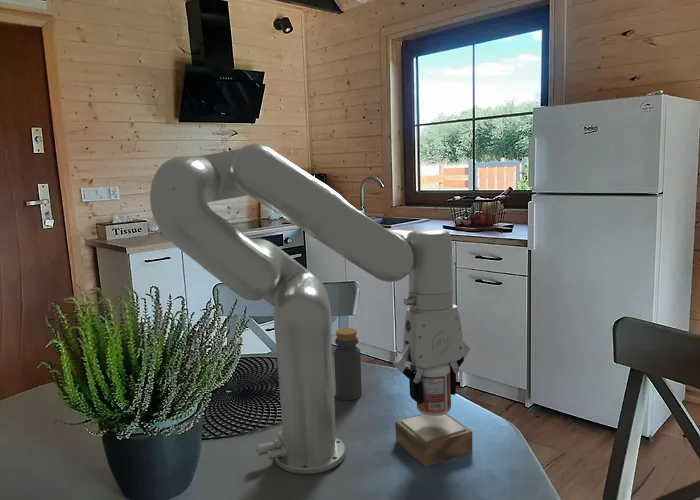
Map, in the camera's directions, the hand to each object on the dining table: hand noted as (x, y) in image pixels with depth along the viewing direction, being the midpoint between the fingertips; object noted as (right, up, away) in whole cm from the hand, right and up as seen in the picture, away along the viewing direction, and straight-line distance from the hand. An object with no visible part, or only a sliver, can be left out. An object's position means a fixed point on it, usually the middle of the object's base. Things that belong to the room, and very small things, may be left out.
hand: (433, 395), depth 100 cm
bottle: (-15, -7, +25) cm, 30 cm away
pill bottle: (0, -3, 0) cm, 3 cm away
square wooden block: (0, -10, +2) cm, 10 cm away
